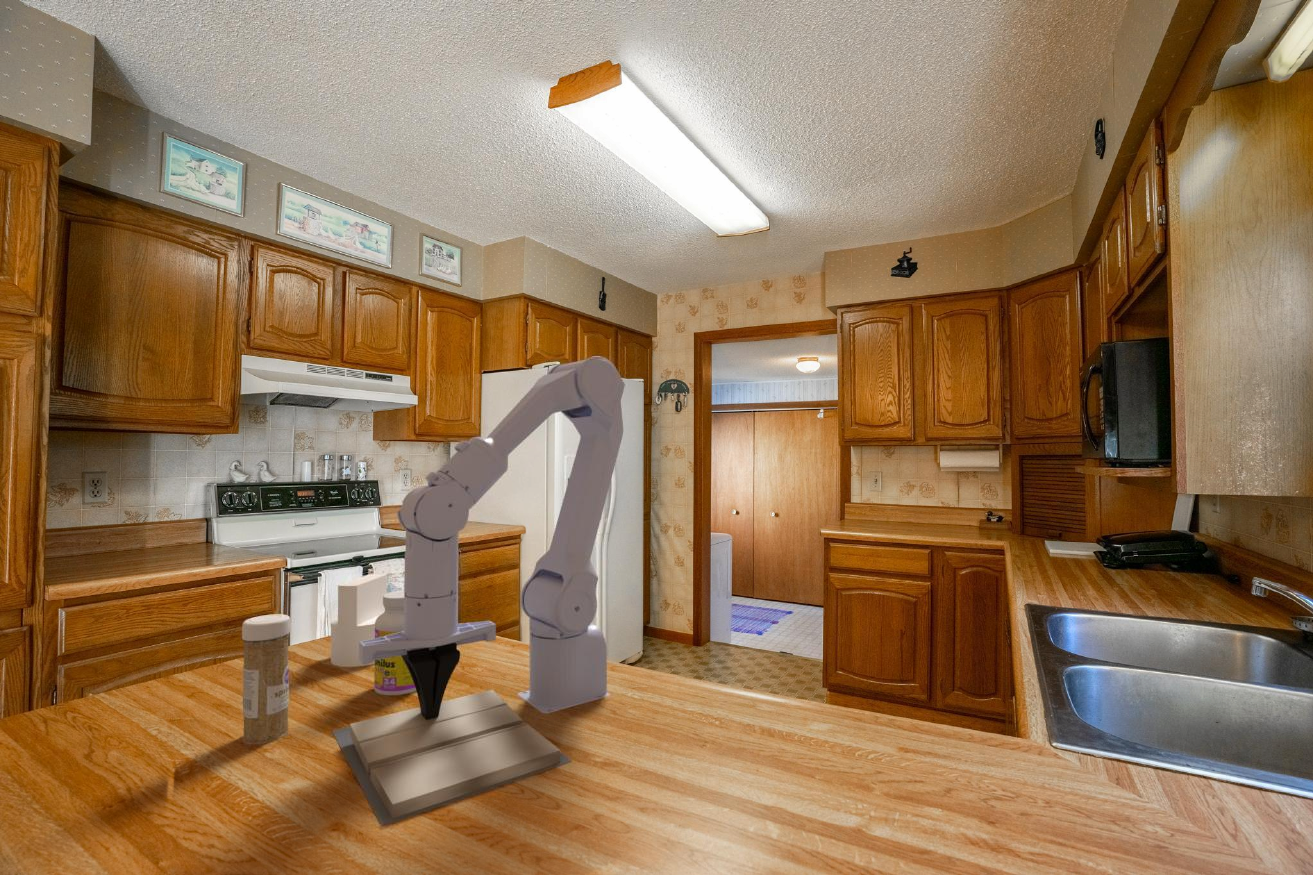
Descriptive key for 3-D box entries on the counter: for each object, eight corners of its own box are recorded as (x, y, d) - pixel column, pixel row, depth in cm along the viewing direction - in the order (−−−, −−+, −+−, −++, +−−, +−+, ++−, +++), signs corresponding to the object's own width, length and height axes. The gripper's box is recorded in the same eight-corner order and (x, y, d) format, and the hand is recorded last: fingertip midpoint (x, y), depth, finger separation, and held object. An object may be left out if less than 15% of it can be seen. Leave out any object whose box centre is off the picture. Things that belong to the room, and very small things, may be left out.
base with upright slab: (352, 647, 103) (352, 573, 103) (405, 648, 102) (405, 574, 102) (317, 666, 94) (318, 585, 94) (374, 667, 93) (374, 586, 93)
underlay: (486, 697, 81) (486, 692, 81) (571, 766, 63) (571, 760, 63) (331, 736, 70) (331, 730, 70) (381, 833, 52) (381, 825, 52)
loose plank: (492, 698, 77) (492, 688, 77) (521, 729, 70) (521, 718, 70) (349, 734, 68) (350, 723, 67) (367, 774, 61) (368, 761, 61)
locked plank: (525, 733, 69) (525, 721, 69) (560, 761, 63) (560, 749, 63) (370, 779, 60) (370, 766, 60) (392, 818, 53) (392, 803, 53)
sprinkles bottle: (290, 742, 69) (291, 619, 69) (241, 753, 66) (242, 625, 67) (288, 727, 73) (289, 610, 73) (241, 737, 70) (242, 616, 71)
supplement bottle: (365, 691, 84) (365, 594, 84) (412, 677, 89) (412, 586, 89) (389, 704, 79) (389, 602, 80) (437, 689, 84) (437, 592, 85)
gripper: (480, 579, 78) (479, 689, 78) (353, 594, 69) (351, 719, 69) (503, 589, 72) (502, 708, 72) (368, 607, 64) (366, 742, 63)
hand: (429, 715), depth 70 cm, fingers closed, pressing on loose plank
